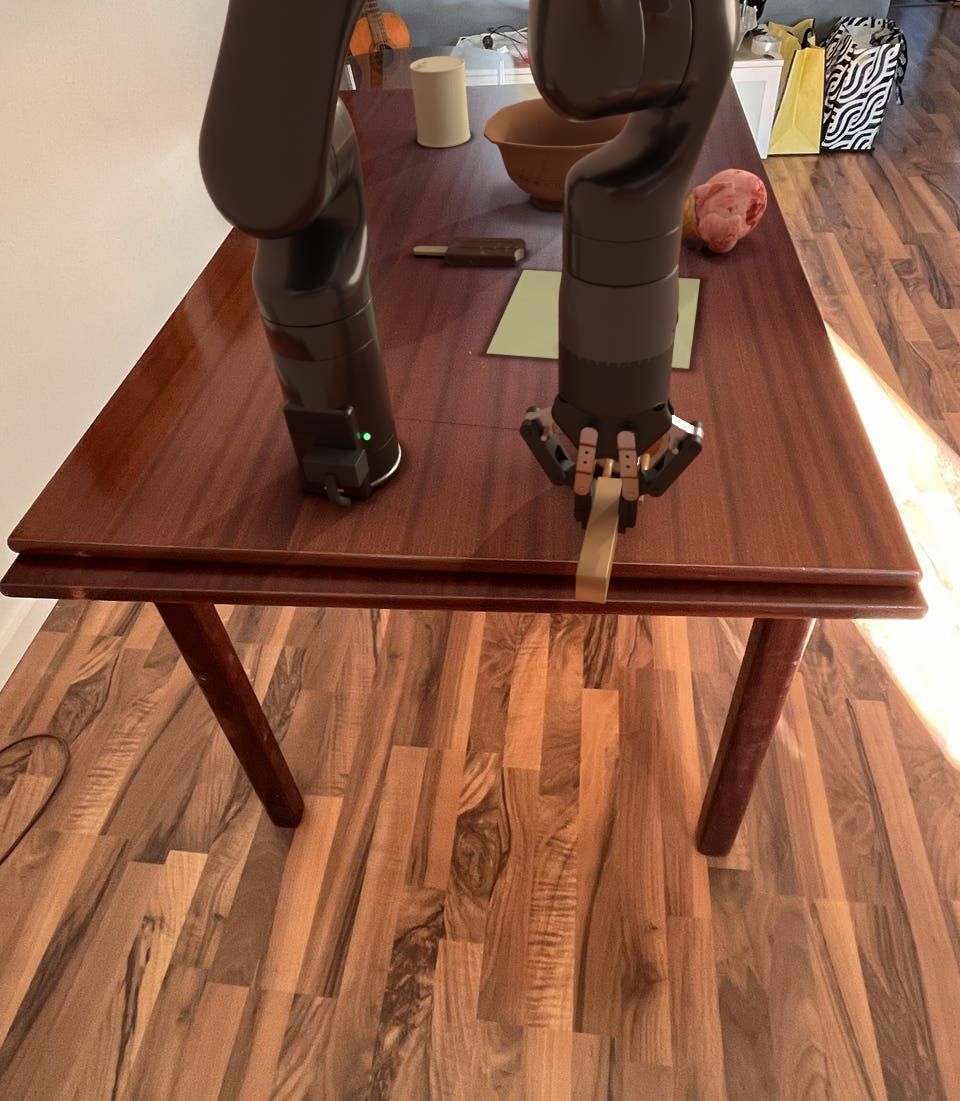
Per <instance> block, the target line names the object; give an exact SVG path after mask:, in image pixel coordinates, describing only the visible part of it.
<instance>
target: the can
mask: <svg viewBox="0 0 960 1101" xmlns="http://www.w3.org/2000/svg"><path fill="white" fill-rule="evenodd" d="M409 71H410V78H411V86H412V94H413V95H412V96H413V103H414V110H415V111H414V112H415V121H416V130H417V131H416V132H417V139H416V140H417V142H418V144H420V146H423V147H426V148H431V149H441V148H442V149H443V148H451V147H457V146H459V145H462V144H464V143H466V142H467V141H469V140H470V139H471V132H470V124H469V113H468V112H469V111H468V110H469V109H468V99H467V98H468V96H467V83H466V82H467V81H466V61H465V59H464V58H462V57H459V56H454V55H436V56H429V57H424V58H420V59H417V60H415V61H413V62H412V63H410V65H409Z"/></svg>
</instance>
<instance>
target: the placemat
mask: <svg viewBox="0 0 960 1101" xmlns="http://www.w3.org/2000/svg"><path fill="white" fill-rule="evenodd" d="M561 274H562V271H554V270H553V271H549V270H531V269H523V270H522V272H521V275H520V277H519V279H518V282H517V283H516V286H515V287H514V290H513V292H512V294H511V297H510V299H509V301H508V302H507V306H506V307H505V309H504V313H503V315H502V317H501V319H500V321H499V324H498V326H497V327H496V330H495V333H494V334H493V336H492V339H491V342H490V344H489V346H488V348H487V351H486V354H487V355H488V354H489V355H498V356H499V355H501V356H513V357H514V356H515V357H528V358H541V359H553V360H558V300H559V288H560V281H561ZM700 282H701V279H700V278H688V277H687V278H686V277H685V278H684V277H679V305H678V311H679V319H678V323H677V325H676V332H675V340H674V350H673V359H672V368H671V369H685V370H689V369H690V362H691V355H692V347H693V340H694V338H693V337H694V330H695V324H696V323H695V322H696V316H697V315H696V314H697V307H698V299H699V290H700V284H701V283H700Z"/></svg>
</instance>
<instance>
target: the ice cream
mask: <svg viewBox="0 0 960 1101" xmlns="http://www.w3.org/2000/svg"><path fill="white" fill-rule="evenodd" d="M767 203H768V195H767V189H766V187H765V183H764V182H763V181H762V180H761V179H760V177H758V176H757V175H756V174H754V173H752V172H749V171H747V170H743V169H737V168H736V169H735V168H728V169H724V170H721V171H719V172H718V173H716V174H714V175H713V176H711V178H709V180H707V181H706V182H705V183H704V184H700V185H697V186H696V187H694V188H693V190H692V192H691V193H690V194H689V195H688V196H687V197H686V199H685V209H684V219H683V229H682V236H686V237H692V238H694V239H695V240H697V241H704V242H705V243H706V247H707V248H708V250H710V251H711V252H714V253H717V254H724V253H728V252H729V251H731V250H732V249H733V248H734V247H735V246H736V244H737V242H738V240H741V239H743V238H744V237H746V236H747V235H748V234H749V233H750V232H751V231H753V230H754V228H755V227H756V226H757V225H758V223H759V222H760V220H761V219H762V217H763V216H764V212H765V211H766V208H767Z"/></svg>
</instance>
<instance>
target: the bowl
mask: <svg viewBox="0 0 960 1101" xmlns="http://www.w3.org/2000/svg"><path fill="white" fill-rule="evenodd" d="M629 115H630V113H628V114H623V115H618V116H614V117H610V118H605V119H601V120H596V121H590V122H579V123H576V122H570V121H567V120H565V119H563V118H561V117H560V116H558V115H557V114H555V113H554V112H553V111H552V109H551V108H550V107H549V106H548V105H547V104H546V102H545V101H544V99H543V98H542V97H540V98H533V99H527V100H523V101H520V102H517V103H513V104H510V105H507V106H504V107H502V108H500V109H499V110H498V111H497V112H496V113H494V114H492V116H491V117H490V118H488V119H487V120H486V124H485V127H484V131H483V137H484V138H485V139H487V140H488V141H489V142H490V143H491V144H494V145H496V146H497V148H498V150H499V152H500V155H501V160H502V163H503V165H504V168H505V171H506V173H507V175H508V177H509V178H510V181H512V182H513V183H514V184H515V185H516V186H517V187H518V188H519V189H520V190H521V191H523V192H524V193H526V194H528V195H531V196H532V197H531V202H532V203H533V204H534V205H535V206H536V207H538V208H540V209H543V210H547V211H553V212H563V188H564V182H565V179H566V175H567V173H568V171H569V170H570V169H571V167H572V166H573V165H574V164H575V163H576V162H578V161H579V160H580V159H582V158H583V157H585V156H587V155H588V154H590V153H592V152H594V151H596V150H598V149H599V148H601V147H603V146H604V145H606V144H608V143H609V142H610V141H612V140H613V139H614V138H615V137H616V136H618V135H619V134H620V132H621V131H622V130H623V128H624V126H625V124H626V122H627V120H628V117H629Z"/></svg>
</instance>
